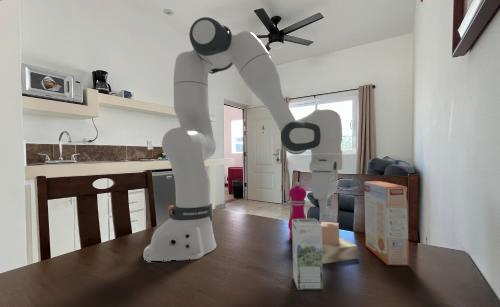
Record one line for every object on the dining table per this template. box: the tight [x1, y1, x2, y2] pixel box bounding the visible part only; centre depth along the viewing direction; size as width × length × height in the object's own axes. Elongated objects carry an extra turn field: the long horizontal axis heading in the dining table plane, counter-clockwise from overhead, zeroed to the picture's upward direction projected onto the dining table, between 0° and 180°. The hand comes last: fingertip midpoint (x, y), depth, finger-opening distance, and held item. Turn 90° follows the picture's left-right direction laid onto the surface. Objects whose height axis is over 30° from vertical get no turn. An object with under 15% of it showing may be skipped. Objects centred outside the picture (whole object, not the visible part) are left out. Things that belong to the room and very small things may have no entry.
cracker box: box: [363, 180, 410, 266], centre depth 71 cm, size 14×6×21 cm, turn 176°
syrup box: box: [291, 218, 324, 291], centre depth 56 cm, size 6×6×14 cm
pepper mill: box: [287, 181, 308, 240], centre depth 87 cm, size 7×7×20 cm
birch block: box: [322, 235, 359, 265], centre depth 73 cm, size 11×11×4 cm
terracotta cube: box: [320, 221, 340, 245], centre depth 73 cm, size 5×5×5 cm
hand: (326, 209), depth 73 cm, fingers open, 8 cm apart
